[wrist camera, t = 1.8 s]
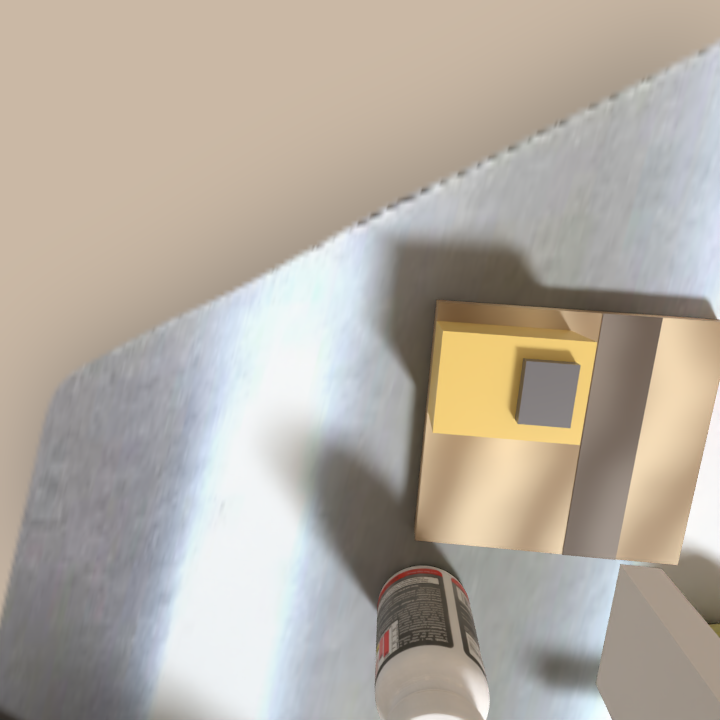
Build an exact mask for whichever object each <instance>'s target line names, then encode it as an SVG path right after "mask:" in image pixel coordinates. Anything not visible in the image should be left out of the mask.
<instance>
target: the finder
mask: <svg viewBox="0 0 720 720" xmlns="http://www.w3.org/2000/svg"><path fill="white" fill-rule="evenodd" d="M596 347H597V342H596V341H593V340H591V339H589V338H587V337H584V336H582V335H580V334H578V333H575V332H573V331H571V330H558V329H544V328H530V327H516V326H503V325H489V324H475V323H461V322H447V321H437V322H436V332H435V342H434V352H433V362H432V373H431V383H430V393H429V403H428V414H429V418H430V423H431V428H432V432H433V433H440V434H452V435H464V436H476V437H488V438H500V439H512V440H524V441H536V442H548V443H560V444H572V445H580V441H581V435H582V429H583V424H584V418H585V412H586V406H587V400H588V394H589V388H590V382H591V376H592V370H593V365H594V359H595V353H596Z"/></svg>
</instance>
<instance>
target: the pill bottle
mask: <svg viewBox="0 0 720 720" xmlns="http://www.w3.org/2000/svg"><path fill="white" fill-rule="evenodd" d="M375 701H376V706H377V710H378V713H379V716H380V718H381V720H486V718H487V715H488V711H489V704H490V697H489V689H488V683H487V678H486V674H485V669H484V665H483V661H482V656H481V652H480V647H479V643H478V638H477V634H476V629H475V625H474V621H473V616H472V612H471V608H470V603H469V599H468V596H467V593H466V591H465V589H464V588H463V586H462V585H461V583H460V582H459V581H458V580H457V579H456V578H455V577H454V576H452V575H451V574H449V573H448V572H446V571H444V570H442V569H439V568H436V567H432V566H413V567H408V568H406V569H403V570H401V571H399V572H397V573H396V574H394V575H393V576H392V577H391V578H390V579H389V580H388V581H387V582H386V583H385V585H384V586H383V588H382V590H381V592H380V595H379V599H378V605H377V639H376V668H375Z"/></svg>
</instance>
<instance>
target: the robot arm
mask: <svg viewBox="0 0 720 720" xmlns="http://www.w3.org/2000/svg"><path fill="white" fill-rule="evenodd" d="M596 685H597V688H598V690H599V692H600V694H601V696H602V698H603V701H604V703H605V705H606V707H607V709H608V711H609V714H610V716H611V718H612V720H720V638H719V637H718V635H717V634H716V633H715V632H714V631H713V629H712V628H711V627H710V626H709V625H708V623H707V622H706V621H705V620H704V619H703V617H702V616H701V615H700V614H699V613H698V612H697V610H696V609H695V608H694V607H693V606H692V604H691V603H690V602H689V601H688V600H687V598H686V597H685V596H684V595H683V594H682V592H681V591H680V590H679V589H678V588H677V586H676V585H675V584H674V583H673V582H672V580H671V579H670V578H669V577H668V576H667V574H666V573H665V572H664V571H663V570H662V569H661V568H653V567H643V566H633V565H623V564H620V569H619V573H618V578H617V583H616V588H615V593H614V598H613V602H612V607H611V612H610V617H609V622H608V627H607V632H606V636H605V641H604V646H603V651H602V656H601V661H600V665H599V670H598V675H597V680H596Z"/></svg>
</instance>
